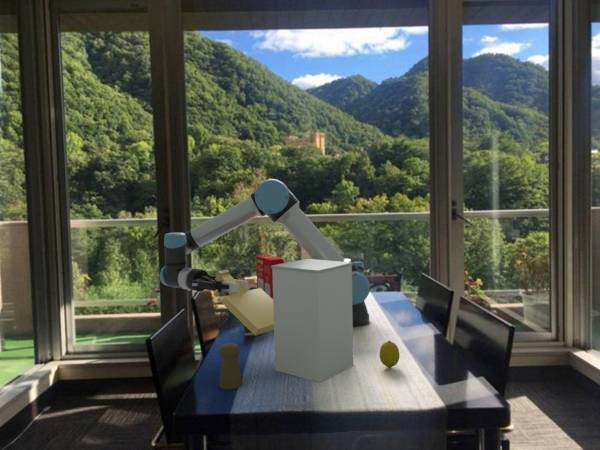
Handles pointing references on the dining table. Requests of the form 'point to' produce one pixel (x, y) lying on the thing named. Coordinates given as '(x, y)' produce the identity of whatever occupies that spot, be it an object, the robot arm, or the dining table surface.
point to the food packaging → (266, 272)
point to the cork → (230, 367)
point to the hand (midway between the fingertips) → (242, 286)
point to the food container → (249, 332)
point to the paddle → (249, 305)
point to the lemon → (389, 354)
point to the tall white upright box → (313, 318)
